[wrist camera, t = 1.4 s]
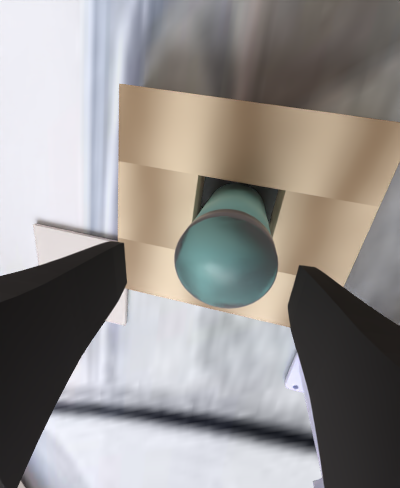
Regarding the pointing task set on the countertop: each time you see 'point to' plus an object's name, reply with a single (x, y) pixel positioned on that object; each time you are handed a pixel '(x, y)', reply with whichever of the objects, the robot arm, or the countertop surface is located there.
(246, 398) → the countertop surface
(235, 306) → the plug
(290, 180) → the tan board with hole
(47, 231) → the mat
